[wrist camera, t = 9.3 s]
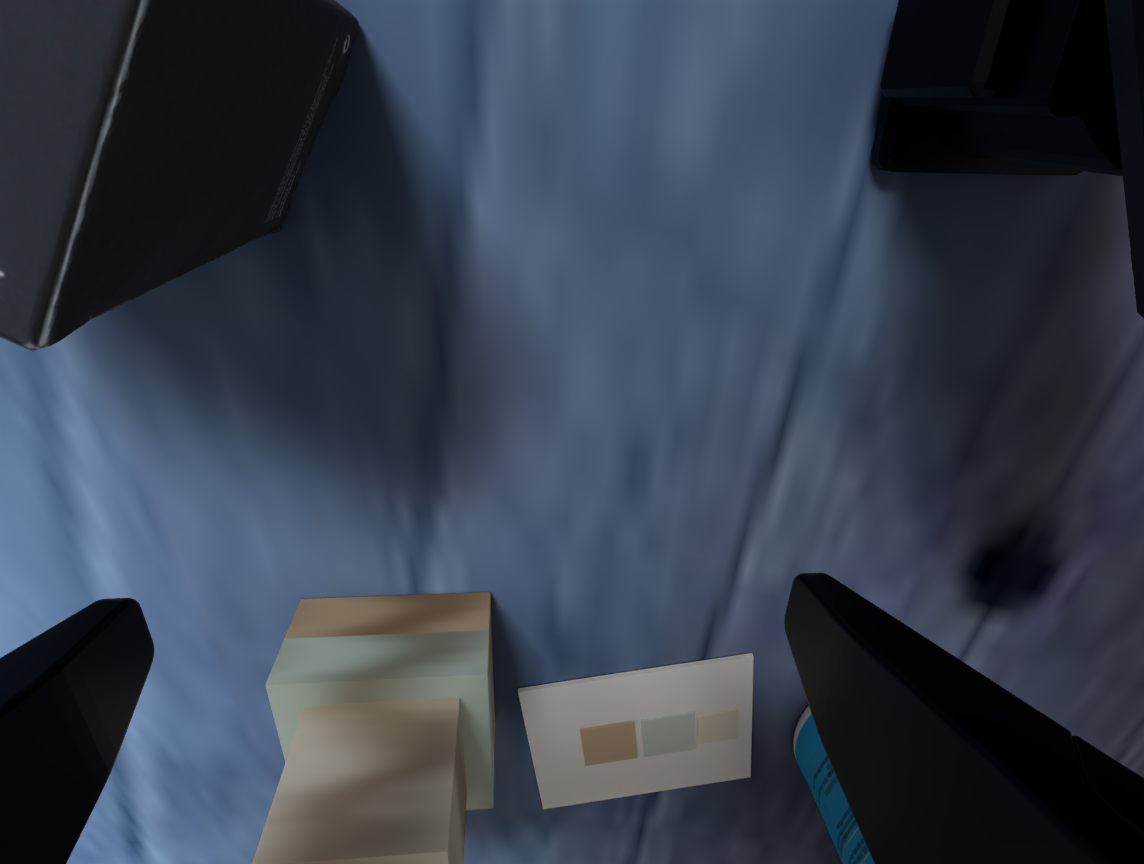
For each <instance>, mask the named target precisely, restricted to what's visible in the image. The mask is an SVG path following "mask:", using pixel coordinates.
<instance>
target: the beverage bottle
mask: <svg viewBox="0 0 1144 864" xmlns="http://www.w3.org/2000/svg"><path fill="white" fill-rule="evenodd" d="M793 747H794V754H795V758H796V761H797V764H798V766H799V768H800V771H801V773H802V775H803V777H804V779H805V781H806V783H807V785H808V787H809V788H810V791H811V793H812V795H813V797H814V800H815V802H816V804H817V806H818V809H819V811H820V813H821V815H822V818H823V820H824V822H825V825H826V827H827V829H828V832H829V834H830V836H831V839H832V841H833V843H834V846H835V848H836V850H837V853H838V855H839V857H840V859H841V862H842V864H874V861H873V859H872V857H871V854H870V852H869V850H868V848H867V845H866V843H865V841H864V838H863V836H862V834H861V831H860V829H859V827H858V825H857V822H856V820H855V818H854V815H853V813H852V811H851V809H850V806H849V804H848V802H847V799H846V797H845V795H844V793H843V790H842V788H841V786H840V783H839V781H838V779H837V777H836V774H835V772H834V770H833V767H832V765H831V763H830V760H829V758H828V756H827V754H826V751H825V749H824V747H823V744H822V742H821V739H820V737H819V734H818V732H817V729H816V726H815V723H814V720H813V717H812V714H811V711H810V708H809V706H808V707H807V708H806V709H805V711H804V712H803V714H802V716H801V717H800V719H799V721H798V724H797V726H796V729H795V734H794V741H793Z"/></svg>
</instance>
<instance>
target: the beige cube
mask: <svg viewBox="0 0 1144 864" xmlns="http://www.w3.org/2000/svg"><path fill="white" fill-rule="evenodd" d="M466 802H467V787H466V774H465V761H464V748H463V735H462V722H461V709H460V697H459V698H440V699H422V700H403V701H385V702H367V703H348V704H330V705H311V706H304V709H303V712H302V715H301V718H300V721H299V724H298V727H297V730H296V733H295V736H294V739H293V742H292V745H291V748H290V751H289V754H288V757H287V760H286V763H285V766H284V769H283V772H282V775H281V778H280V781H279V784H278V787H277V790H276V793H275V796H274V799H273V802H272V805H271V808H270V811H269V814H268V817H267V820H266V823H265V826H264V829H263V832H262V835H261V838H260V841H259V844H258V847H257V850H256V853H255V856H254V859H253V862H252V864H463V854H464V836H465V819H466Z"/></svg>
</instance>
